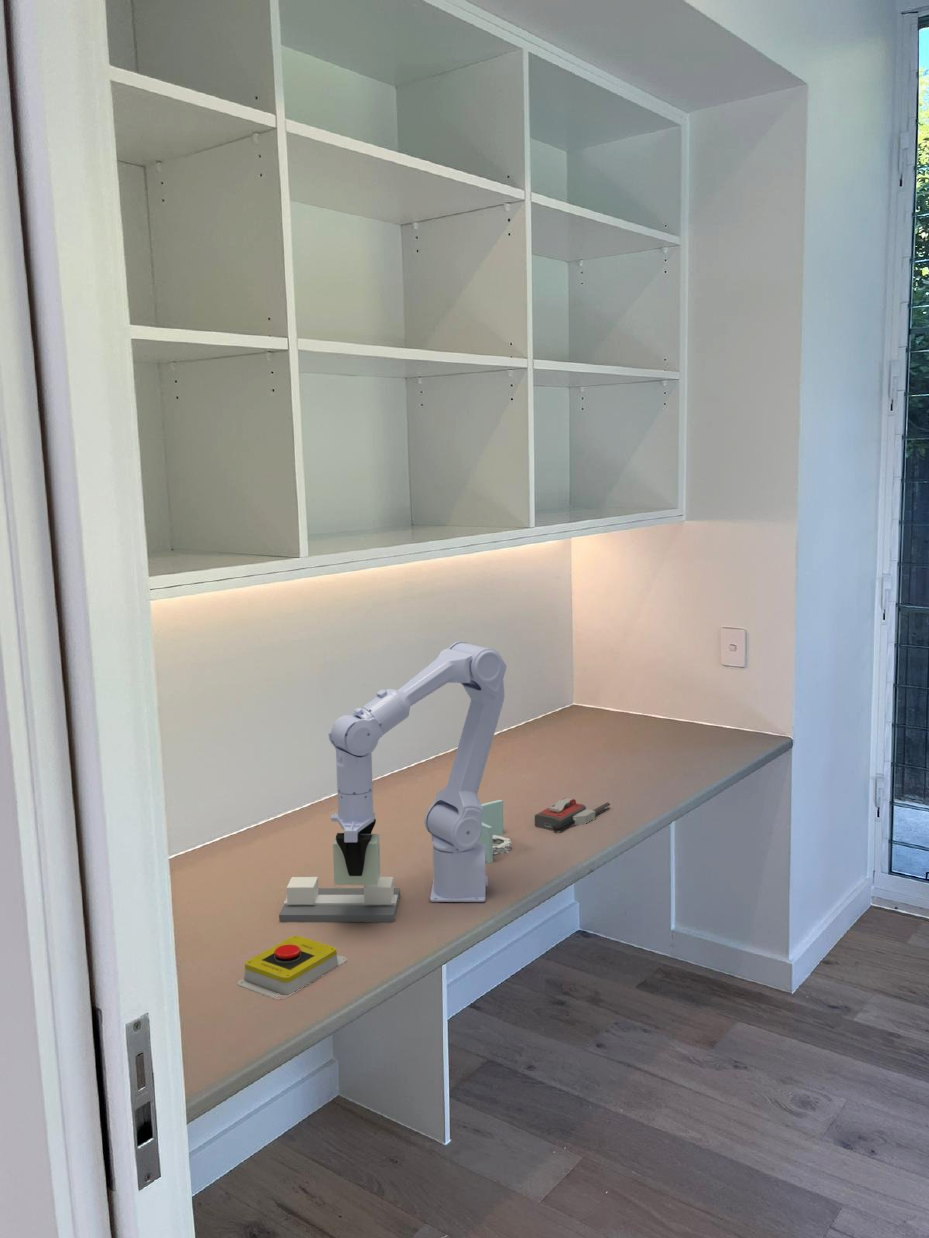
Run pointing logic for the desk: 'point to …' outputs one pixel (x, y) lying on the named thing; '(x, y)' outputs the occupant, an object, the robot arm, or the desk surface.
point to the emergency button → (289, 966)
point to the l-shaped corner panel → (493, 830)
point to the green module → (370, 865)
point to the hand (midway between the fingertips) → (357, 869)
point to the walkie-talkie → (565, 815)
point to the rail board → (339, 902)
